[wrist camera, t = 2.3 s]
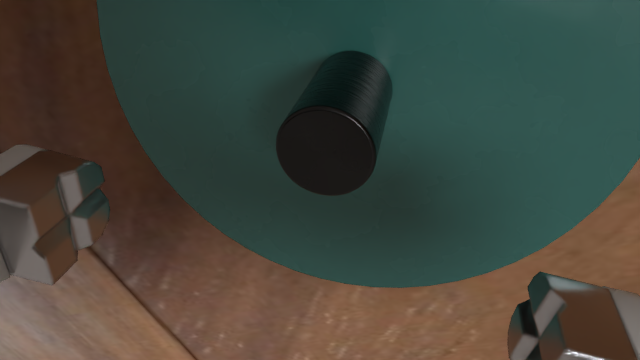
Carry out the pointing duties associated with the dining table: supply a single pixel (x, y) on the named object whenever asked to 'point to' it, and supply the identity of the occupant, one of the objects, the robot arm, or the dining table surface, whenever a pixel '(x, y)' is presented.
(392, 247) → the lid
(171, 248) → the dining table surface
